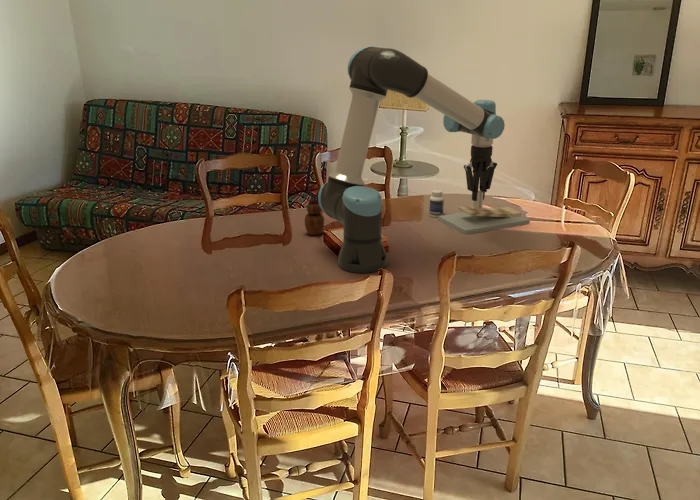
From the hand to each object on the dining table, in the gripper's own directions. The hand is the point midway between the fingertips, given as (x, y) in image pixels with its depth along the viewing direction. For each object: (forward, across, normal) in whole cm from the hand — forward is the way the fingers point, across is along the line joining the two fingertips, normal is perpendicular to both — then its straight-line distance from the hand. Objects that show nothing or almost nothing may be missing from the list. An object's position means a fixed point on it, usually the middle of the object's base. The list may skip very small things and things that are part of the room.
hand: (477, 208), depth 218 cm
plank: (+2, +3, 0) cm, 4 cm away
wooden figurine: (+6, -59, +14) cm, 61 cm away
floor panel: (+6, +3, 0) cm, 6 cm away
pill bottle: (+6, -9, +14) cm, 18 cm away
